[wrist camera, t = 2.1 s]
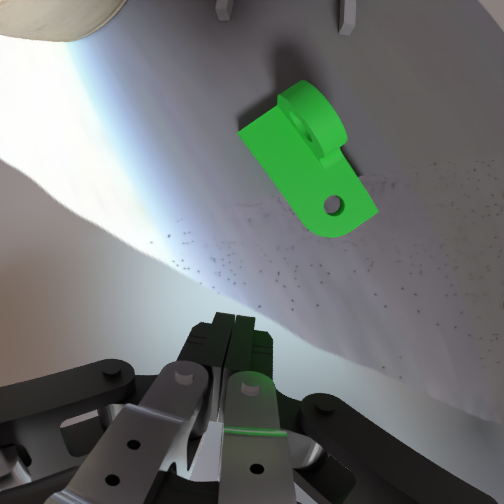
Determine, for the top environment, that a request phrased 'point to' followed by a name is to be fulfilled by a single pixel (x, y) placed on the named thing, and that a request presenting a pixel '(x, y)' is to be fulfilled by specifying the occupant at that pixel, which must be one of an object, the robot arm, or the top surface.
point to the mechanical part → (309, 160)
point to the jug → (55, 18)
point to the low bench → (345, 21)
